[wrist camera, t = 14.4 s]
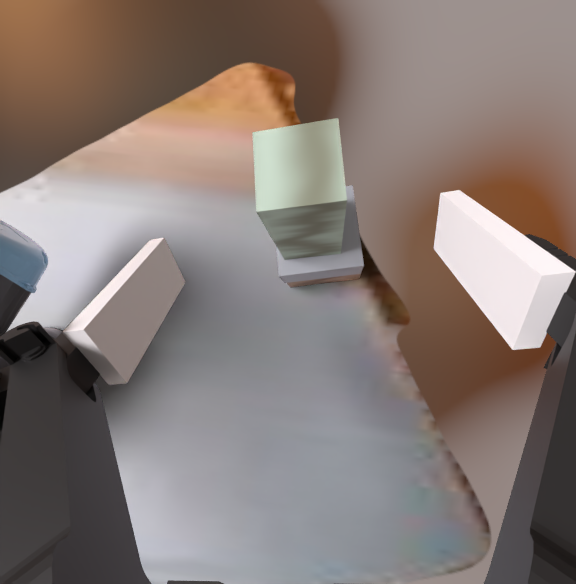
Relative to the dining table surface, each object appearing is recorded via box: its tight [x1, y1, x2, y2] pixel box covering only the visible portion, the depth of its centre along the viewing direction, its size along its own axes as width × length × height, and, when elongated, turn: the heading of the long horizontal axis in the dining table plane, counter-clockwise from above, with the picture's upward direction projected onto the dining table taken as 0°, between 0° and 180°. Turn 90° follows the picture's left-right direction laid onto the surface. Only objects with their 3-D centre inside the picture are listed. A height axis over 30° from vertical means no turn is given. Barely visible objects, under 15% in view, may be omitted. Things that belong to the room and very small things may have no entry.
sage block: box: [252, 118, 347, 260], centre depth 25 cm, size 6×6×12 cm
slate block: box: [276, 185, 364, 283], centre depth 33 cm, size 9×9×4 cm
